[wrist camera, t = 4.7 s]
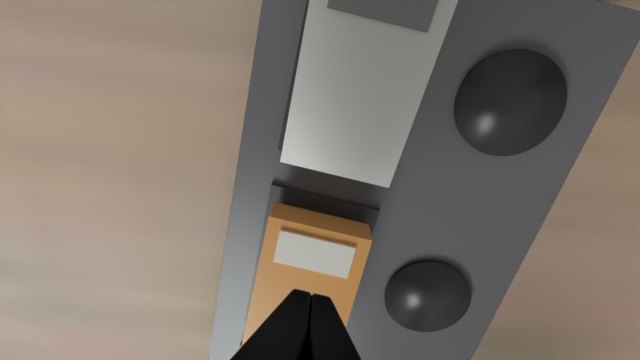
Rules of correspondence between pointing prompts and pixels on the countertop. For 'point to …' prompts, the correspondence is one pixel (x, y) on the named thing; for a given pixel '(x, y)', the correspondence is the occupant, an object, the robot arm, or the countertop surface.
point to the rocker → (362, 84)
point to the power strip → (434, 169)
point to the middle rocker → (308, 261)
